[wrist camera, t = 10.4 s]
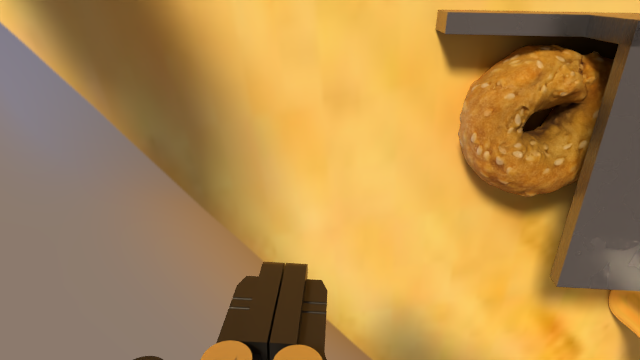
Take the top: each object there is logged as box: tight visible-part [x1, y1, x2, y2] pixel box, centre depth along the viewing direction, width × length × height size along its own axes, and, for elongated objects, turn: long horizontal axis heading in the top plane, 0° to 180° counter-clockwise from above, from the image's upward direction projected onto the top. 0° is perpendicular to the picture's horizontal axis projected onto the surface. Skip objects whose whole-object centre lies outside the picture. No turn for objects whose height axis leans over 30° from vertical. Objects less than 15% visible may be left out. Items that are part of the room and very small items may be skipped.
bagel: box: [458, 44, 614, 197], centre depth 28 cm, size 10×11×5 cm
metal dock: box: [436, 10, 640, 291], centre depth 27 cm, size 14×16×8 cm
